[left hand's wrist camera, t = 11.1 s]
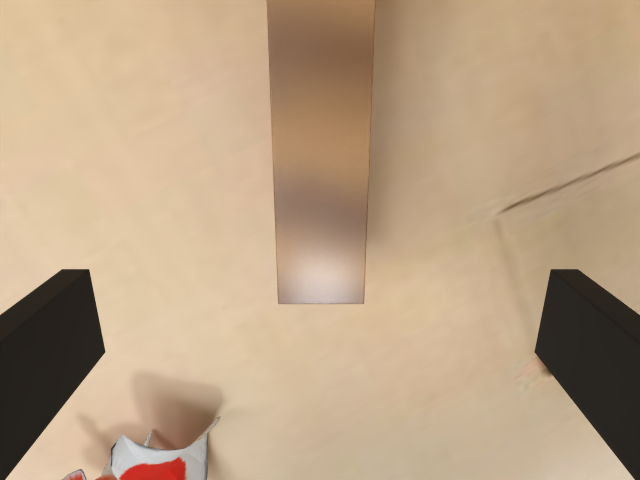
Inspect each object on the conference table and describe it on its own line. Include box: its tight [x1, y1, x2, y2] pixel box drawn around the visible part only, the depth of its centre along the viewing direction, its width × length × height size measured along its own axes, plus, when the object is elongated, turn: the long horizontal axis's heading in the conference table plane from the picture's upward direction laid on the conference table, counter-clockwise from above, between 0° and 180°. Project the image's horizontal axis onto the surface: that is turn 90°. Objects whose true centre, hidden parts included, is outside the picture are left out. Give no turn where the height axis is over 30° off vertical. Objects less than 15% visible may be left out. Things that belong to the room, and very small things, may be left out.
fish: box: [62, 416, 221, 480], centre depth 36 cm, size 11×16×10 cm
